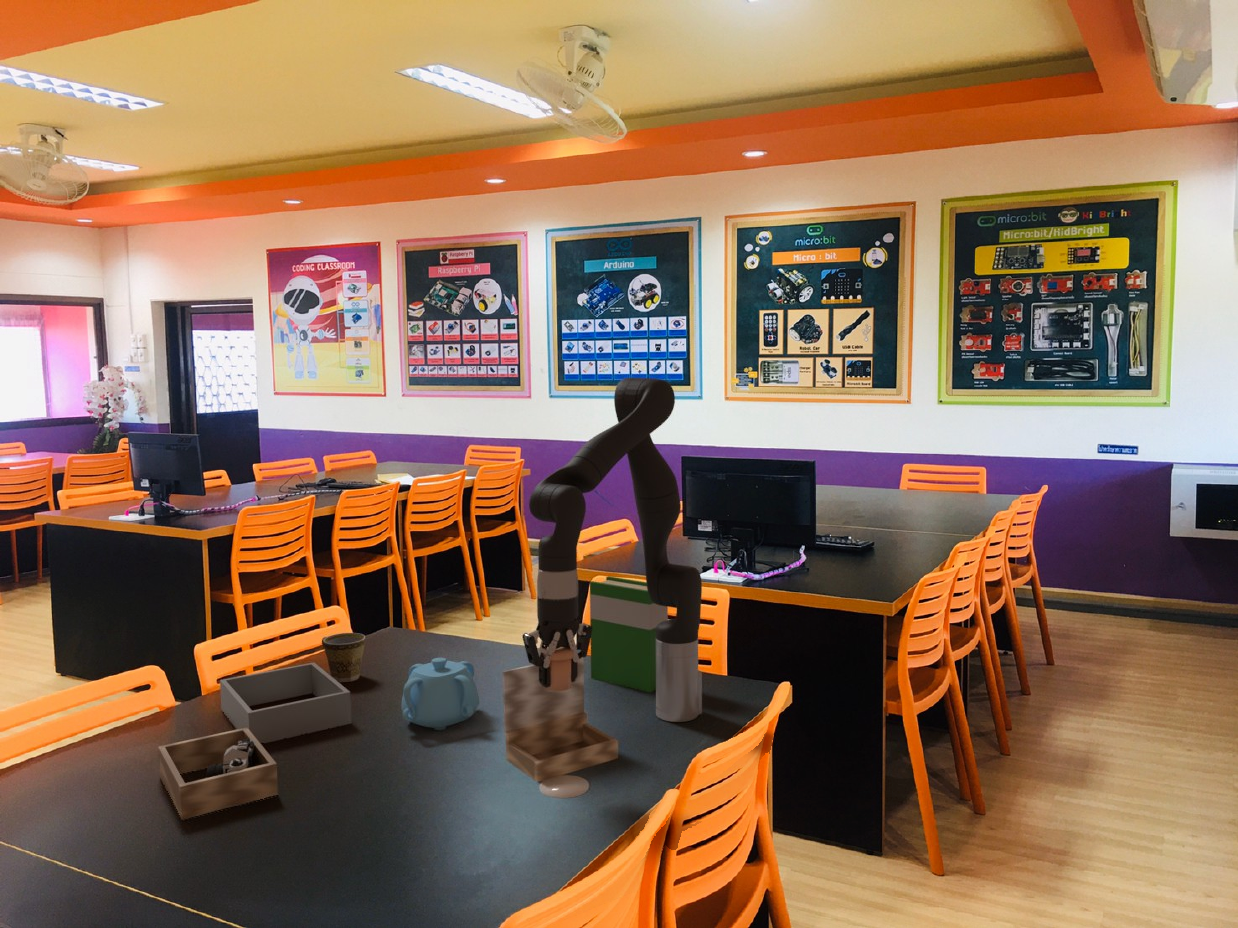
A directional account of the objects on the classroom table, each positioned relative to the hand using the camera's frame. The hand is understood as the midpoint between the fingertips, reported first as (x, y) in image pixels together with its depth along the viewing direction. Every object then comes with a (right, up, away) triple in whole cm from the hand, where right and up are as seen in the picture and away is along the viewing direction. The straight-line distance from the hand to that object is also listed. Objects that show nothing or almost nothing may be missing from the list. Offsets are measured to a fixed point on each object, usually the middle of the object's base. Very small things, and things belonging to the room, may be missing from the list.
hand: (558, 683), depth 176 cm
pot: (0, -1, 0) cm, 1 cm away
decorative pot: (-27, -15, +31) cm, 44 cm away
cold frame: (0, -17, +9) cm, 19 cm away
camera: (-59, -19, -2) cm, 63 cm away
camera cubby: (-63, -19, -1) cm, 65 cm away
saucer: (+1, -18, -3) cm, 19 cm away
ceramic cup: (-57, -12, +60) cm, 84 cm away
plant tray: (-62, -15, +34) cm, 72 cm away
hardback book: (+14, -12, +55) cm, 58 cm away
